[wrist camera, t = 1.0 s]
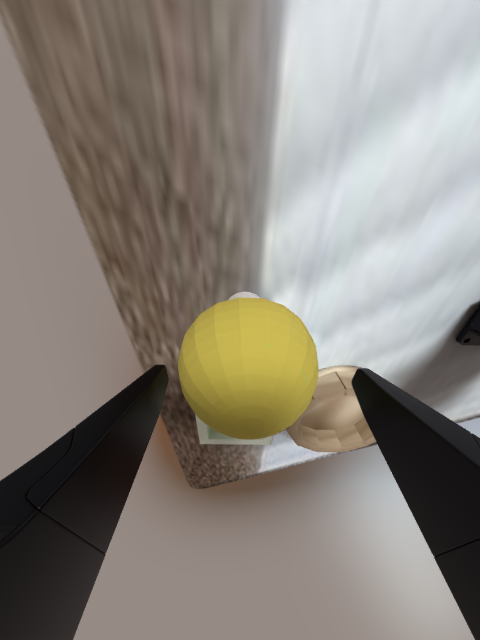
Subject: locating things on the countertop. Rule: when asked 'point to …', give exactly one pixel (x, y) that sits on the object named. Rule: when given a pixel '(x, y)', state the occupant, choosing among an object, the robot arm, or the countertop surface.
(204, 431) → the square socket
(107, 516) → the robot arm
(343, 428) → the round cradle
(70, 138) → the countertop surface
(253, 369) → the light bulb
